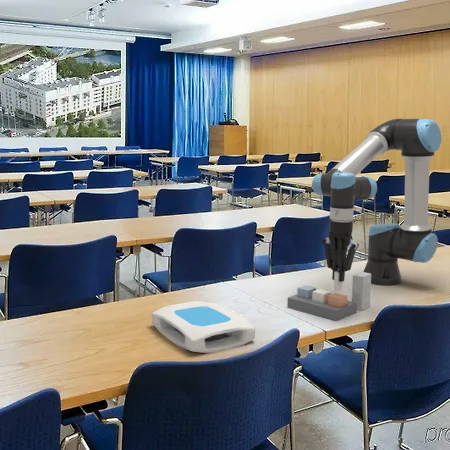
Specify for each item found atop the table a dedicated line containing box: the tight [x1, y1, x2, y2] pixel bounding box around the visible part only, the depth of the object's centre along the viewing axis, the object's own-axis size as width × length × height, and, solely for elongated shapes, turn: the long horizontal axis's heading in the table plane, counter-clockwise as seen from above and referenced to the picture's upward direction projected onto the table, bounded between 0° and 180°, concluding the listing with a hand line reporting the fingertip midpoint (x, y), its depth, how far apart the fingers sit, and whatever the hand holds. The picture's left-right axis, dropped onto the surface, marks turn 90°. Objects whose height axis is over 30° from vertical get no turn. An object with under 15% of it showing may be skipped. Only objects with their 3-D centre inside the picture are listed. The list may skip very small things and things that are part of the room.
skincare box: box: [351, 271, 372, 311], centre depth 207 cm, size 6×4×12 cm
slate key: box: [296, 284, 317, 299], centre depth 209 cm, size 5×5×4 cm
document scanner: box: [151, 300, 256, 354], centre depth 181 cm, size 21×28×6 cm
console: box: [287, 294, 357, 322], centre depth 205 cm, size 12×20×4 cm, turn 46°
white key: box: [312, 288, 333, 303], centre depth 204 cm, size 5×5×4 cm
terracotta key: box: [328, 292, 349, 308], centre depth 200 cm, size 5×5×4 cm
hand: (337, 290), depth 199 cm, fingers closed
